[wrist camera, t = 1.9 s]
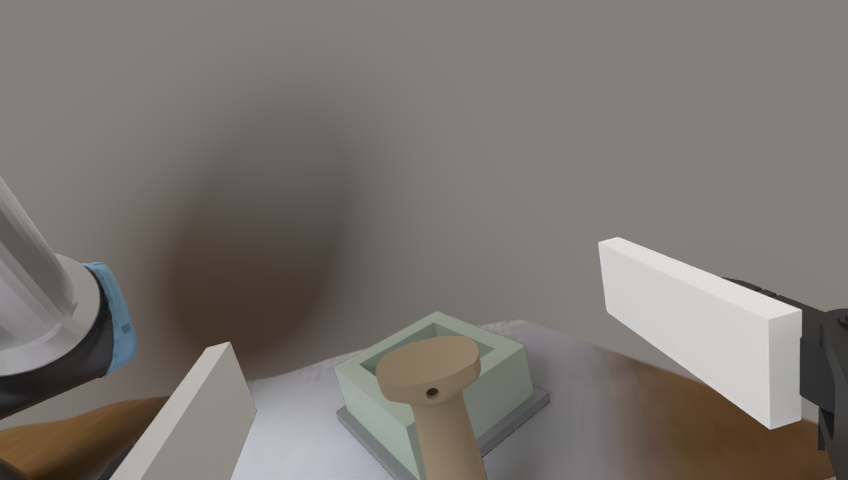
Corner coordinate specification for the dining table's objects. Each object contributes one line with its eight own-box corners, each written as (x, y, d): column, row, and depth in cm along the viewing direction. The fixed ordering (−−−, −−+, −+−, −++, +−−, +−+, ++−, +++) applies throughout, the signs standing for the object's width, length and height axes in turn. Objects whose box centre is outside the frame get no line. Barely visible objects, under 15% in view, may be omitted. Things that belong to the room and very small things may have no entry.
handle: (527, 565, 28) (485, 368, 24) (431, 588, 28) (373, 394, 24) (508, 502, 32) (470, 328, 28) (426, 521, 32) (377, 350, 28)
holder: (338, 419, 47) (321, 368, 45) (448, 350, 55) (438, 305, 53) (421, 507, 34) (402, 441, 32) (549, 401, 42) (540, 343, 40)
